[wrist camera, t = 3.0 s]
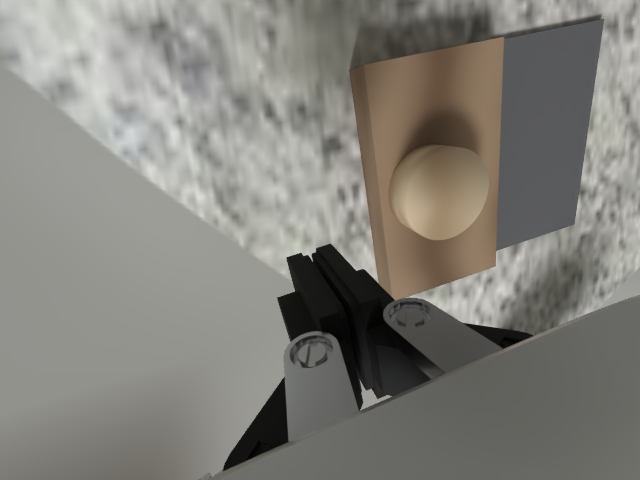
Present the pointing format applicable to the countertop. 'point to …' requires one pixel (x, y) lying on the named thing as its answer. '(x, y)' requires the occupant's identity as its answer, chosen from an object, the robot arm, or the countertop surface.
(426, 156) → the cream dome knob
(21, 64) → the countertop surface
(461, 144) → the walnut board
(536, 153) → the rubber mat
